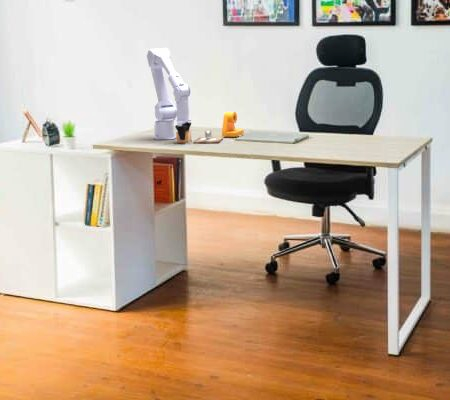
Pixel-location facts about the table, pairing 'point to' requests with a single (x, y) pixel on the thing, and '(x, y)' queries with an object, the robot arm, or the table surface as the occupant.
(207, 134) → the steel post
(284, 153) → the table surface
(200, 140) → the post base
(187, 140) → the collar
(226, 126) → the bracket
